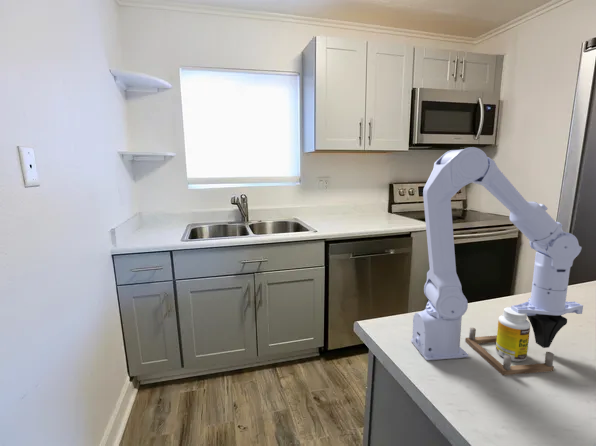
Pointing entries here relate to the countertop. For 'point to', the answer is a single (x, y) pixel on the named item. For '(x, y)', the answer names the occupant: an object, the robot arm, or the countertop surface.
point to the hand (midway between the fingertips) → (542, 345)
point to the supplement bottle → (513, 335)
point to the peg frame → (506, 357)
